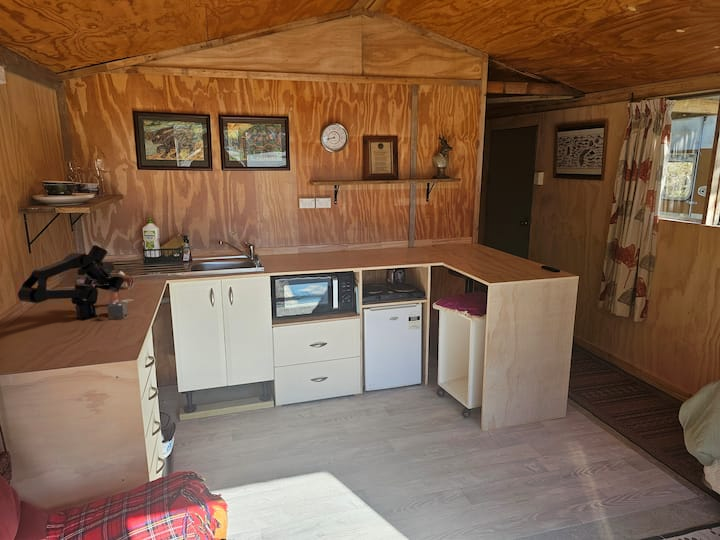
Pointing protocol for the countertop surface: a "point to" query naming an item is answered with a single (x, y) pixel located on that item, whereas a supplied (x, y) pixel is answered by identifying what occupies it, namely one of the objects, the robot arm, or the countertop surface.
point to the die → (117, 310)
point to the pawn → (113, 296)
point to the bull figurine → (126, 279)
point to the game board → (126, 300)
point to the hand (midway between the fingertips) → (115, 290)
